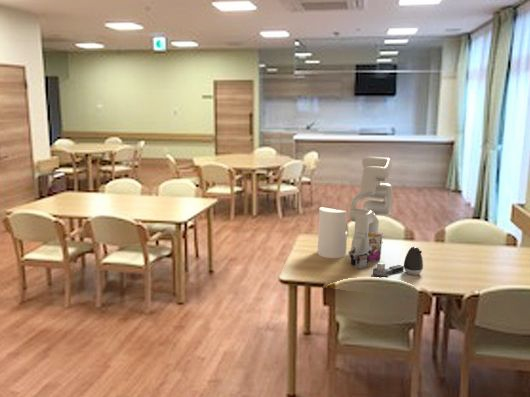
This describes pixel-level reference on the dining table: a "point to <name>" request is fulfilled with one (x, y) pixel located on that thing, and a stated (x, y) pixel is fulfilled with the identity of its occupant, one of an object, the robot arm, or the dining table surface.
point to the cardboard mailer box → (361, 261)
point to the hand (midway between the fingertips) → (359, 263)
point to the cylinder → (332, 233)
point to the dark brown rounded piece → (413, 261)
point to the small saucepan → (386, 270)
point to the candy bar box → (375, 245)
